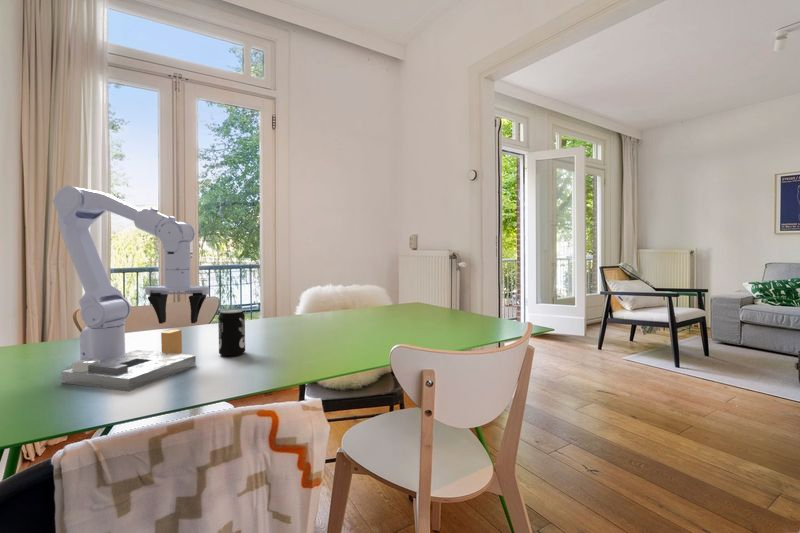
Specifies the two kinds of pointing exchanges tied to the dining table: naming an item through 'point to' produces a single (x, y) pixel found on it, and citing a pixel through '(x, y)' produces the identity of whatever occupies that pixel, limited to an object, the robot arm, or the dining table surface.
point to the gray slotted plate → (127, 369)
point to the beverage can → (231, 332)
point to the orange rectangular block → (171, 341)
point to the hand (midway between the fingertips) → (178, 322)
